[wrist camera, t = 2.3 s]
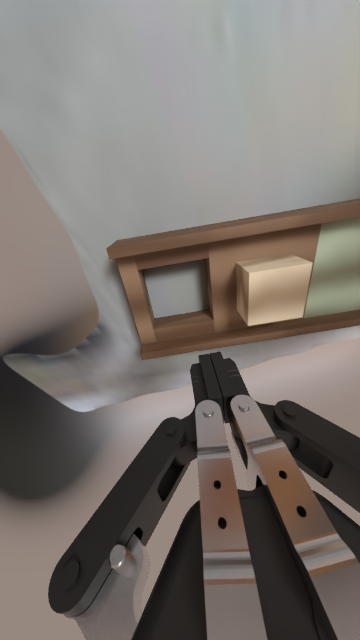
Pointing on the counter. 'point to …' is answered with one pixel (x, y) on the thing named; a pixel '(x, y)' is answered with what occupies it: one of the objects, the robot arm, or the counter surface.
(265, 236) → the walnut track
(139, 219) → the counter surface
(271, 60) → the counter surface
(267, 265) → the maple block
